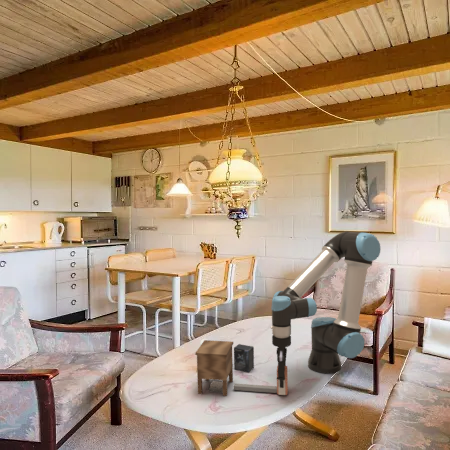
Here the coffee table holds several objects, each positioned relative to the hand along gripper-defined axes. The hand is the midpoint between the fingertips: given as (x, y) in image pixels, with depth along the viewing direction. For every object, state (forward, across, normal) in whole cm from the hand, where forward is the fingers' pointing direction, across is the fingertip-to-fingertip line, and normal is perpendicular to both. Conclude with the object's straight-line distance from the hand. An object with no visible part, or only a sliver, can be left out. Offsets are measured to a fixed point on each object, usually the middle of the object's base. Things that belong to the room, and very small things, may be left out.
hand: (282, 391), depth 159 cm
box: (+1, -21, -19) cm, 28 cm away
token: (+1, 0, -27) cm, 27 cm away
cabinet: (+1, -1, -28) cm, 28 cm away
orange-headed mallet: (0, 0, -9) cm, 9 cm away
